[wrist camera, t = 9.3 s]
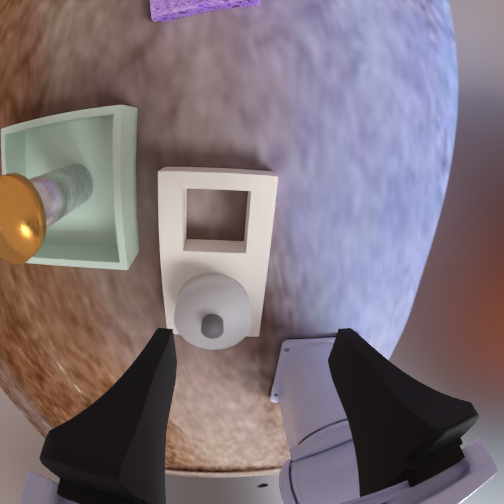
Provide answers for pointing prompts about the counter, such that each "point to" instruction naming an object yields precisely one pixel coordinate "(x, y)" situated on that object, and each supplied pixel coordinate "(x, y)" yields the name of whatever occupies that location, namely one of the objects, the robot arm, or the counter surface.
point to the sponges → (191, 7)
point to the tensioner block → (214, 258)
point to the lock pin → (37, 207)
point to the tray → (103, 175)
